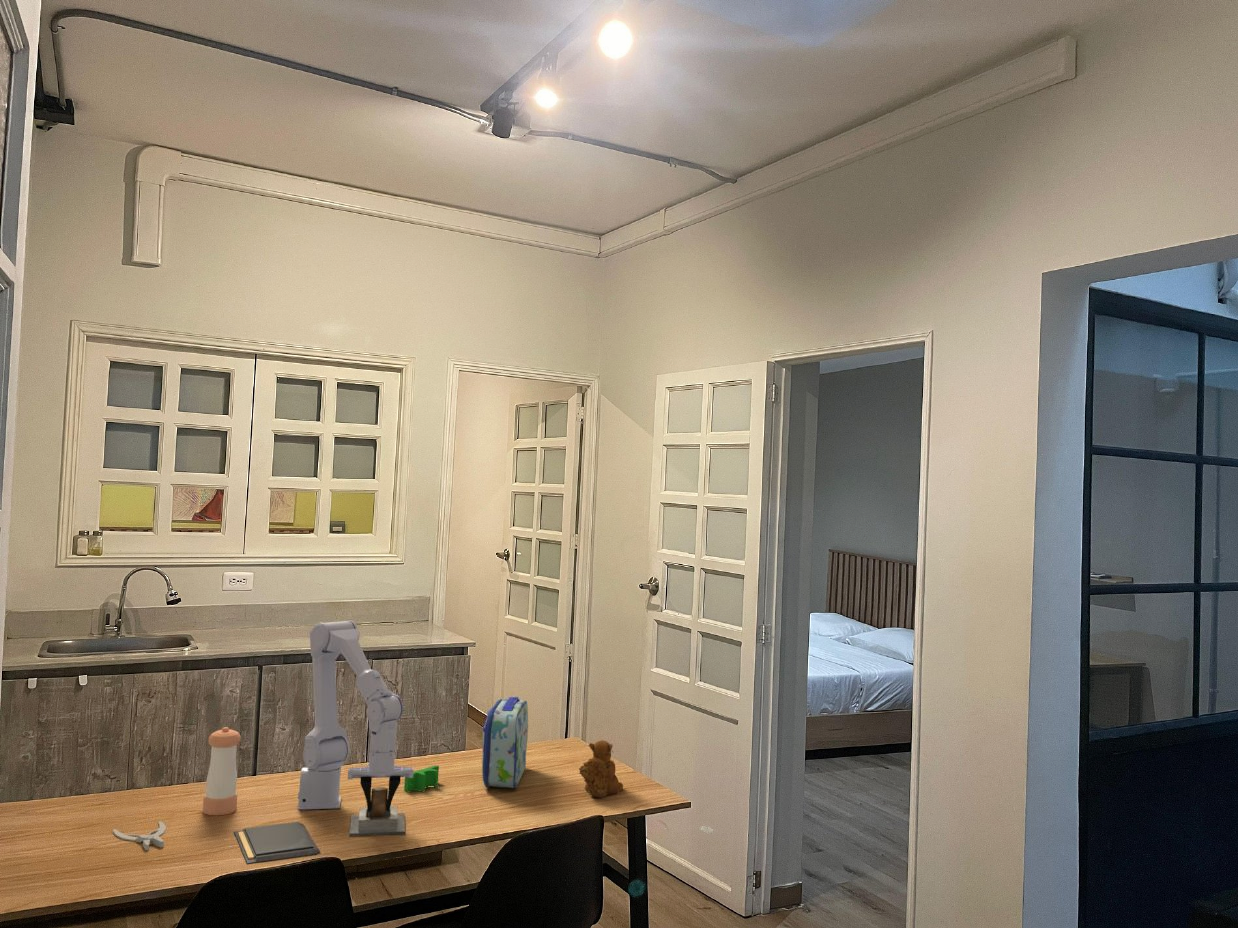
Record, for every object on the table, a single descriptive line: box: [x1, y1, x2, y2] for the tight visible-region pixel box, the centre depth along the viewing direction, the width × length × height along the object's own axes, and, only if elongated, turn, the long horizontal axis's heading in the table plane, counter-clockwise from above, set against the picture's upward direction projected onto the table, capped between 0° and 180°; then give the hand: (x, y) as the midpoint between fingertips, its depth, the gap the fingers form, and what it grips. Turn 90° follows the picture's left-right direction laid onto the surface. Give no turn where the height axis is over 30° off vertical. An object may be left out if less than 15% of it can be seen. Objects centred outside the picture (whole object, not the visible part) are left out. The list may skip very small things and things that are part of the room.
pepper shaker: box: [202, 726, 242, 816], centre depth 211 cm, size 7×7×19 cm
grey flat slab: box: [233, 821, 322, 865], centre depth 193 cm, size 20×2×15 cm
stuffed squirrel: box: [578, 739, 624, 799], centre depth 238 cm, size 10×14×13 cm
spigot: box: [370, 786, 389, 818], centre depth 206 cm, size 4×4×6 cm
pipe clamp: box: [403, 764, 440, 793], centre depth 234 cm, size 11×4×5 cm, turn 147°
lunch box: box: [481, 696, 529, 789], centre depth 246 cm, size 26×11×21 cm, turn 179°
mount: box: [348, 806, 406, 837], centre depth 206 cm, size 12×12×3 cm
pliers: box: [113, 821, 167, 851], centre depth 192 cm, size 10×2×15 cm
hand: (378, 809), depth 206 cm, fingers closed on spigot, 4 cm apart
